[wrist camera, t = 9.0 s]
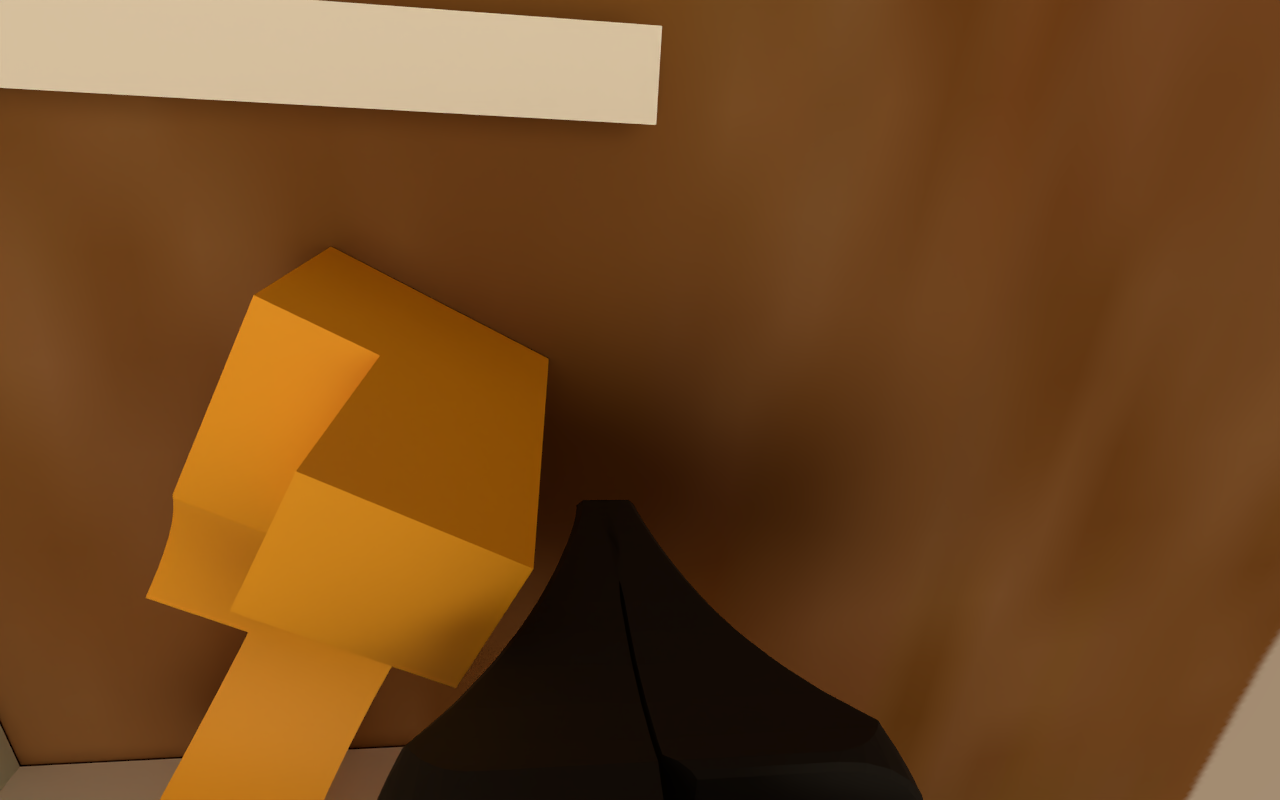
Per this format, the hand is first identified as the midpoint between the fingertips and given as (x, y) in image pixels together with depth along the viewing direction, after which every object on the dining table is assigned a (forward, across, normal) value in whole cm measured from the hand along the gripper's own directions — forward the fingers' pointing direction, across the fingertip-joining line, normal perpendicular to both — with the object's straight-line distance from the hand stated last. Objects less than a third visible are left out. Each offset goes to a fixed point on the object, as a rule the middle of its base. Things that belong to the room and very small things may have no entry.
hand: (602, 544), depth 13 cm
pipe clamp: (+2, +6, +1) cm, 6 cm away
